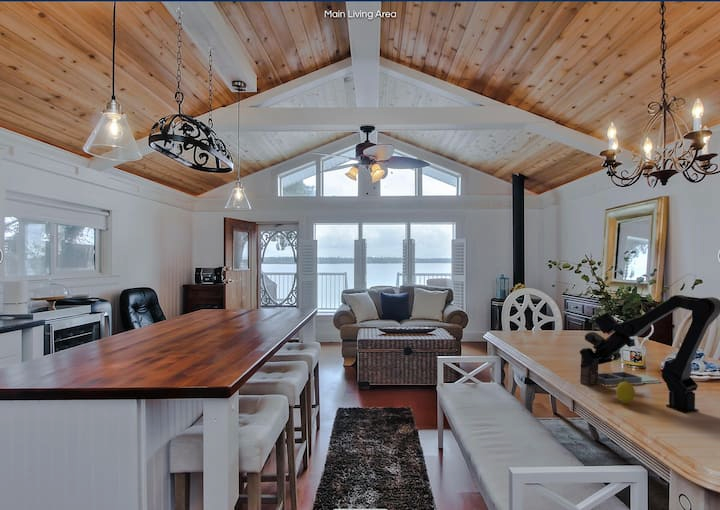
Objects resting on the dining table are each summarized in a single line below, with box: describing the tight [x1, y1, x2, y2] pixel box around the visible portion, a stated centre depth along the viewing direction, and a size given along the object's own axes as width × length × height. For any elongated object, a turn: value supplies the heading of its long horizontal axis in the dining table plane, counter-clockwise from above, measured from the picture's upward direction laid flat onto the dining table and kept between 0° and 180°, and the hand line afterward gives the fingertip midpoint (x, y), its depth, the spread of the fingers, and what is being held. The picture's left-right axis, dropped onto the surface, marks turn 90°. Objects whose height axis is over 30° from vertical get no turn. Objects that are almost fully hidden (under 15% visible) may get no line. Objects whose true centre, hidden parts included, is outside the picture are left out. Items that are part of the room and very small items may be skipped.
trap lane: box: [597, 371, 663, 387], centre depth 176 cm, size 10×27×2 cm, turn 103°
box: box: [579, 354, 599, 386], centre depth 172 cm, size 6×4×12 cm
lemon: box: [615, 381, 636, 405], centre depth 148 cm, size 6×6×8 cm
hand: (586, 365), depth 173 cm, fingers closed on box, 6 cm apart
